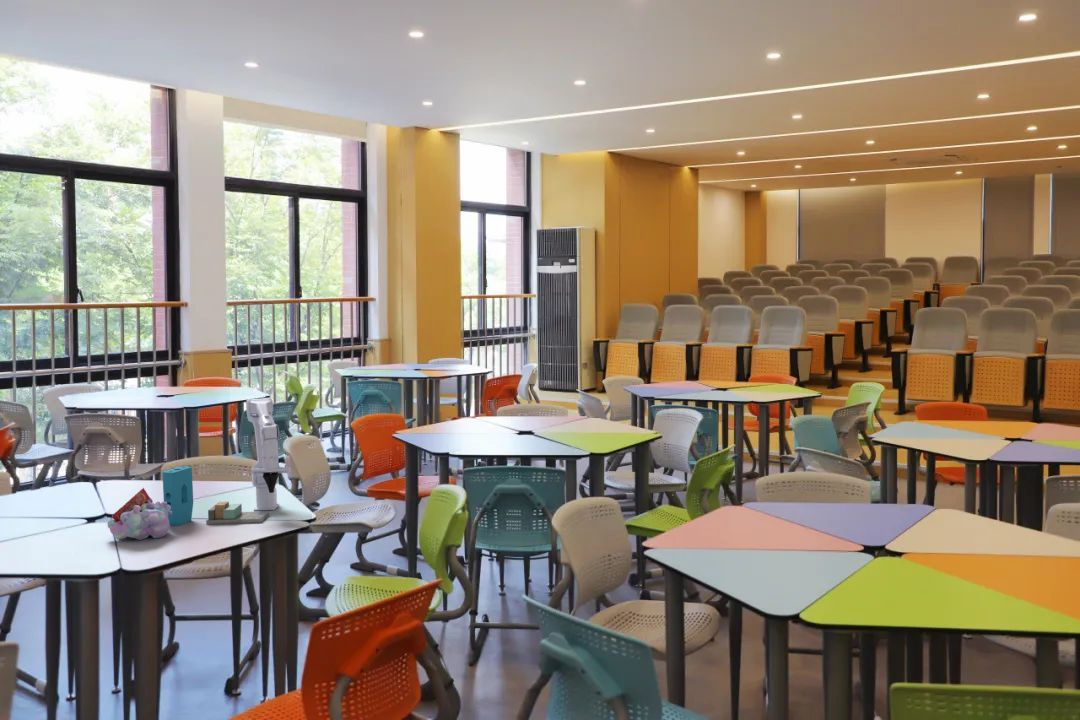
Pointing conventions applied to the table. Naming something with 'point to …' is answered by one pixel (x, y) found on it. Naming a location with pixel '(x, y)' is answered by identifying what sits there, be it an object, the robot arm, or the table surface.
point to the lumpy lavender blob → (140, 518)
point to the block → (178, 494)
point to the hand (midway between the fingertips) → (271, 492)
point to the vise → (241, 518)
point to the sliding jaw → (232, 511)
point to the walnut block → (220, 509)
